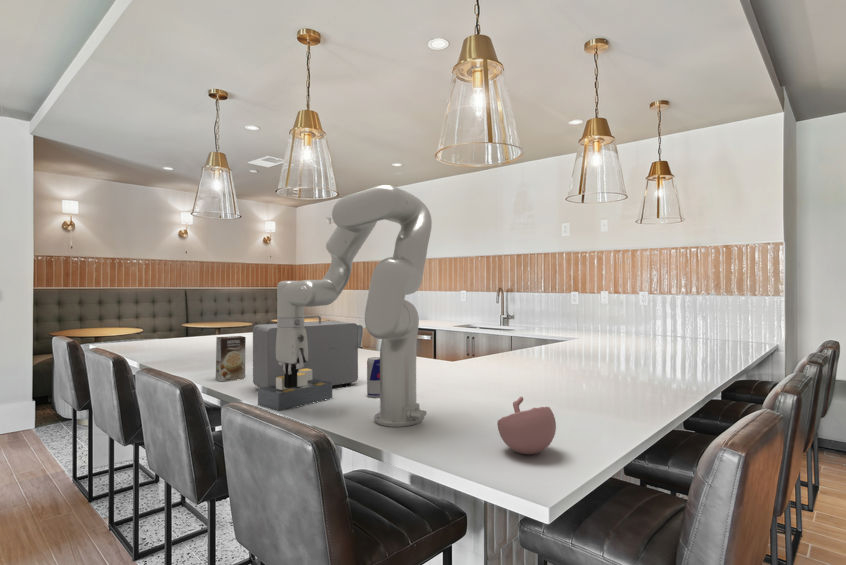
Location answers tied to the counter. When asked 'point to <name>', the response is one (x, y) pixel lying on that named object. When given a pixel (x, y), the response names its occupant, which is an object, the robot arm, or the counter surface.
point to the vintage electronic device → (310, 352)
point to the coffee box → (230, 358)
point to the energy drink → (373, 377)
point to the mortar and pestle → (528, 429)
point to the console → (294, 395)
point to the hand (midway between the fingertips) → (290, 387)
